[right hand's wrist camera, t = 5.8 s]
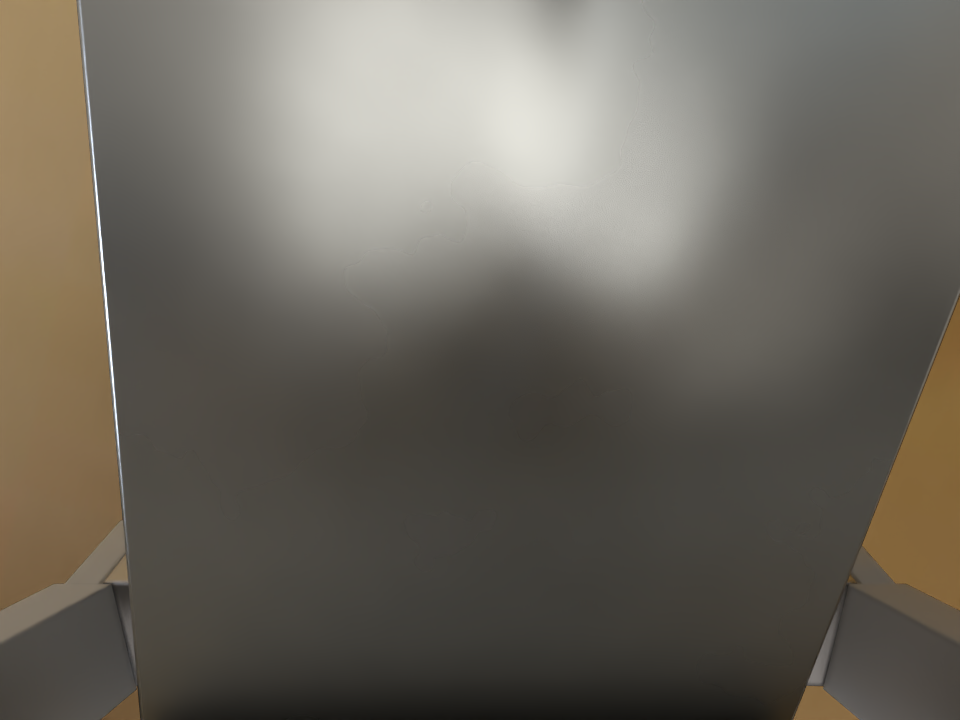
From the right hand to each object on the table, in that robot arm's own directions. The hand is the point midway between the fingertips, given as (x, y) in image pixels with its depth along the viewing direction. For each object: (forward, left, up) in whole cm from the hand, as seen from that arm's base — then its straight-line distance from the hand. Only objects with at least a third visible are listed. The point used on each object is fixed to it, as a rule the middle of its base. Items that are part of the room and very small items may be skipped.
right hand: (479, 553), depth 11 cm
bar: (+2, +8, -4) cm, 9 cm away
